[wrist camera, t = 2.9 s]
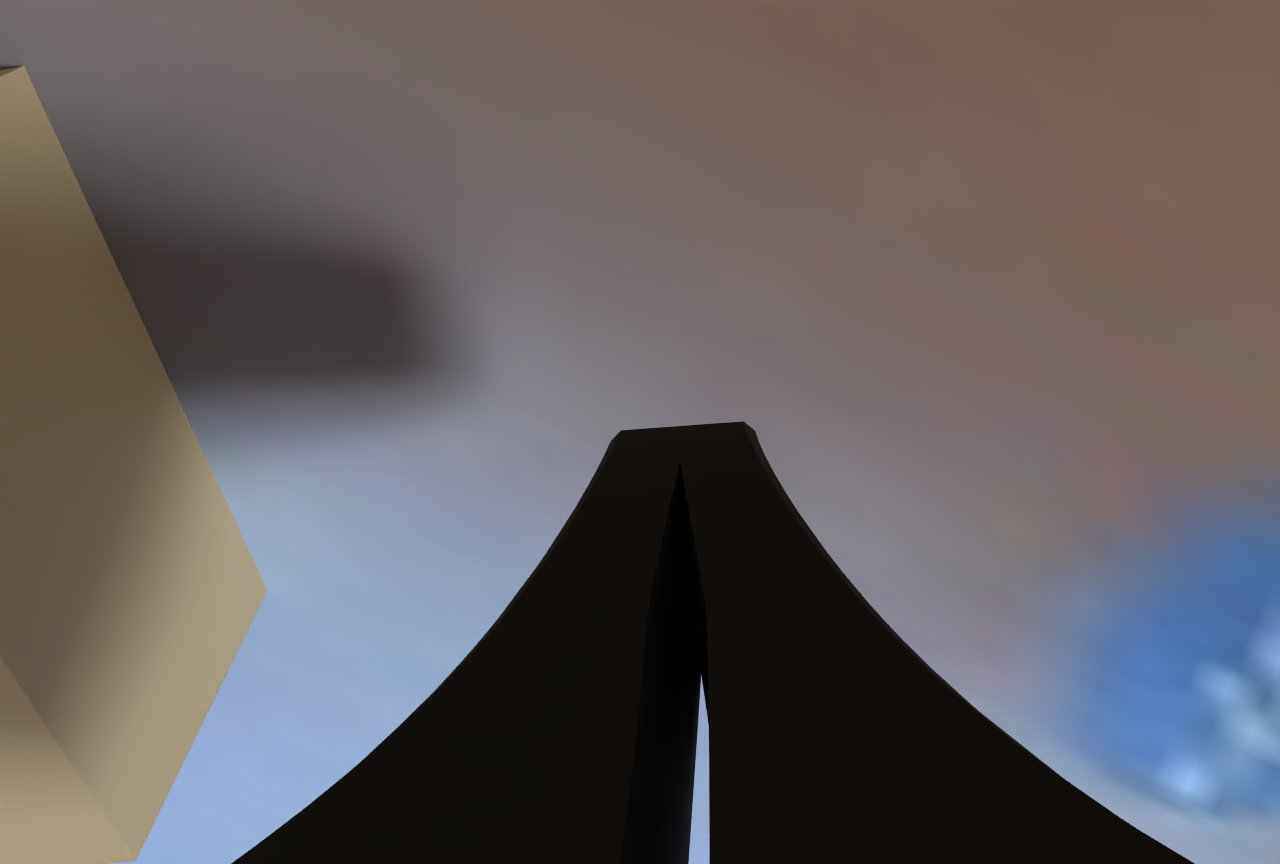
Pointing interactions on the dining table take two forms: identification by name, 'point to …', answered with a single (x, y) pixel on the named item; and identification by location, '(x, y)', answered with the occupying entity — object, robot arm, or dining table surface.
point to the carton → (95, 531)
